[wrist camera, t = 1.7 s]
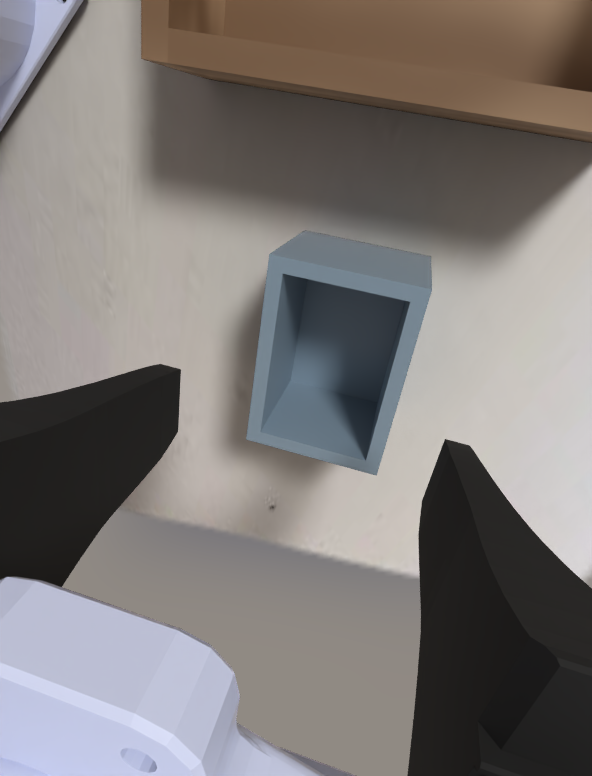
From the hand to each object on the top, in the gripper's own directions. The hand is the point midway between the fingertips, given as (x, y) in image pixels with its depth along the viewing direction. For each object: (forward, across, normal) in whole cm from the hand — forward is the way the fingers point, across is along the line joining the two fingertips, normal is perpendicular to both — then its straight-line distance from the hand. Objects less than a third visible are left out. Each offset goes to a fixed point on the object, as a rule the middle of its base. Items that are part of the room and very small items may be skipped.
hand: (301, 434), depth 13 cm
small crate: (+9, 0, 0) cm, 9 cm away
